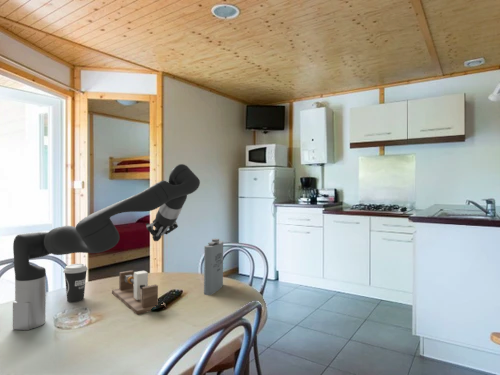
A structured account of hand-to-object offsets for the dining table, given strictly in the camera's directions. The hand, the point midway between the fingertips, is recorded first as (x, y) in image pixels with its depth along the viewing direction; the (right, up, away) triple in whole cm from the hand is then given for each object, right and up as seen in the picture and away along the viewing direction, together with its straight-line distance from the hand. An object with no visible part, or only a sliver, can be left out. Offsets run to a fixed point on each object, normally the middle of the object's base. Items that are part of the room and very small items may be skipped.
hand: (155, 239), depth 129 cm
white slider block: (-10, -27, +12) cm, 31 cm away
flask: (+20, -30, +31) cm, 47 cm away
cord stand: (-13, -29, +15) cm, 35 cm away
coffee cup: (-40, -29, +15) cm, 51 cm away
